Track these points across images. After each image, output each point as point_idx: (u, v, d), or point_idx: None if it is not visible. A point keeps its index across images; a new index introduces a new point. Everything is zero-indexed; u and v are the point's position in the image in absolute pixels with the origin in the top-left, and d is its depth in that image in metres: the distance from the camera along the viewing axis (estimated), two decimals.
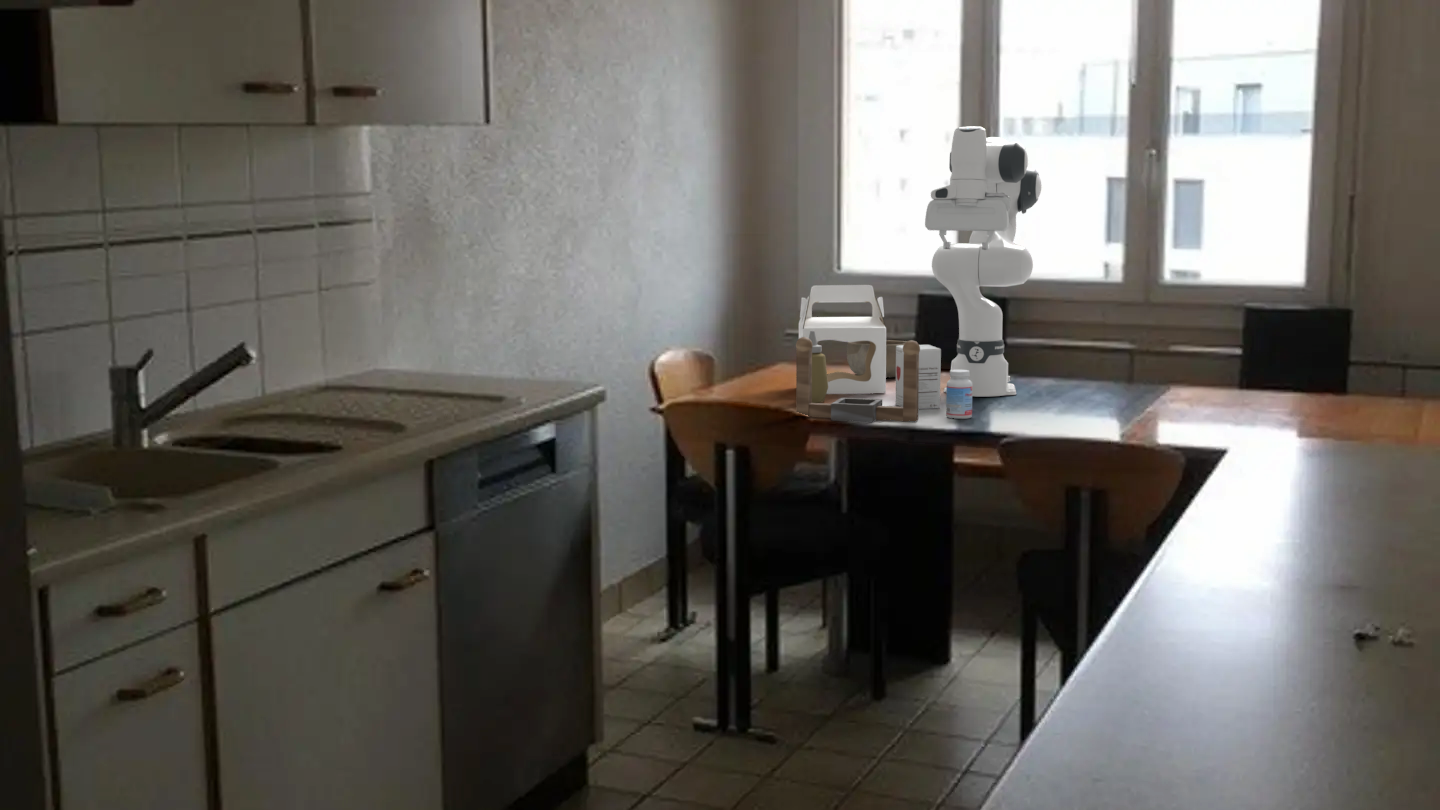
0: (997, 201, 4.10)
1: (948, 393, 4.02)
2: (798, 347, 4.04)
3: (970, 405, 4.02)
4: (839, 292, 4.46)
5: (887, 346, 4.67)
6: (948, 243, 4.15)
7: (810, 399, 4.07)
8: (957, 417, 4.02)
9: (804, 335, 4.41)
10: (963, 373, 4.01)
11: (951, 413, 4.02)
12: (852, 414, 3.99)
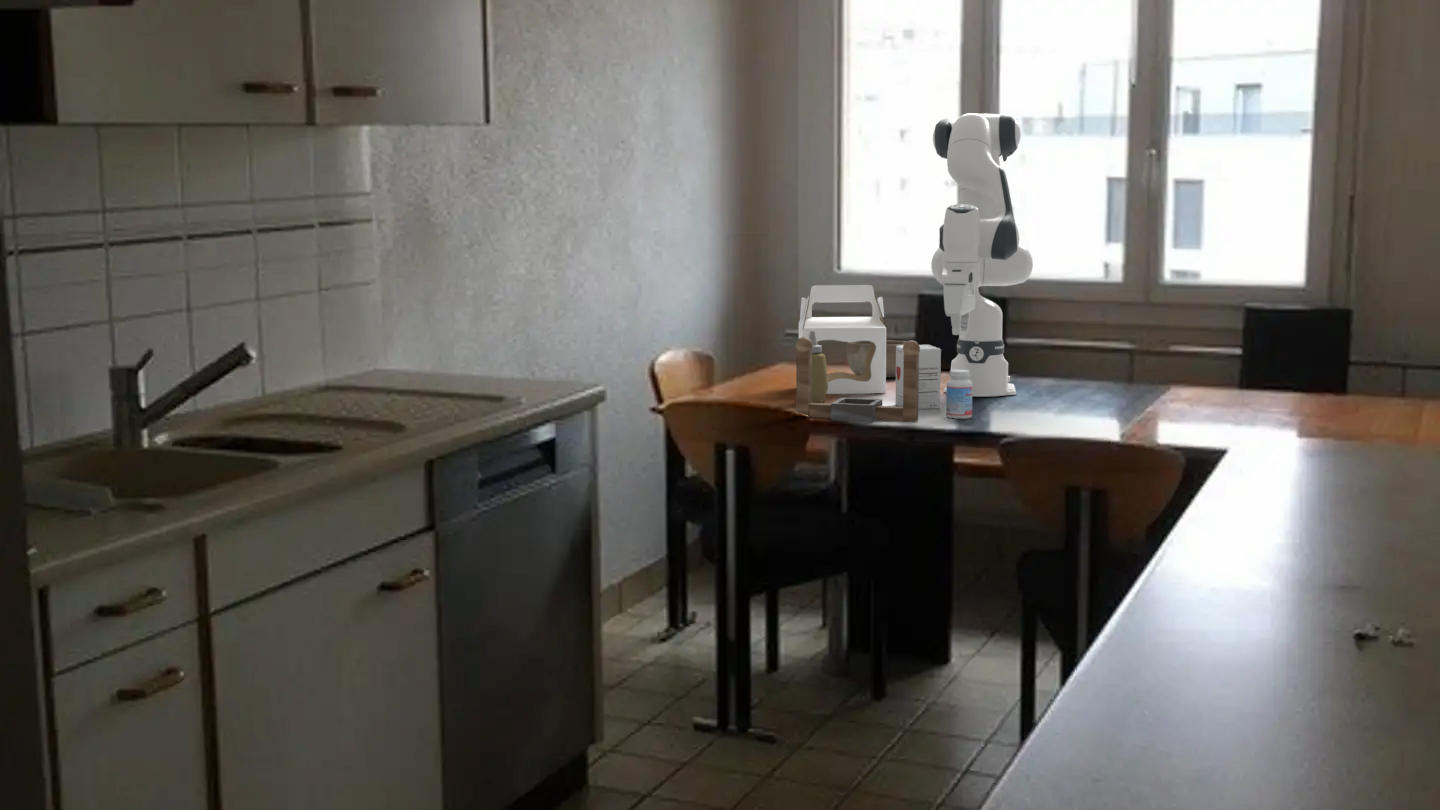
0: None
1: (948, 393, 4.02)
2: (798, 347, 4.04)
3: (970, 405, 4.02)
4: (839, 292, 4.46)
5: (887, 346, 4.67)
6: None
7: (810, 399, 4.07)
8: (957, 417, 4.02)
9: (804, 335, 4.41)
10: (963, 373, 4.01)
11: (951, 413, 4.02)
12: (852, 414, 3.99)
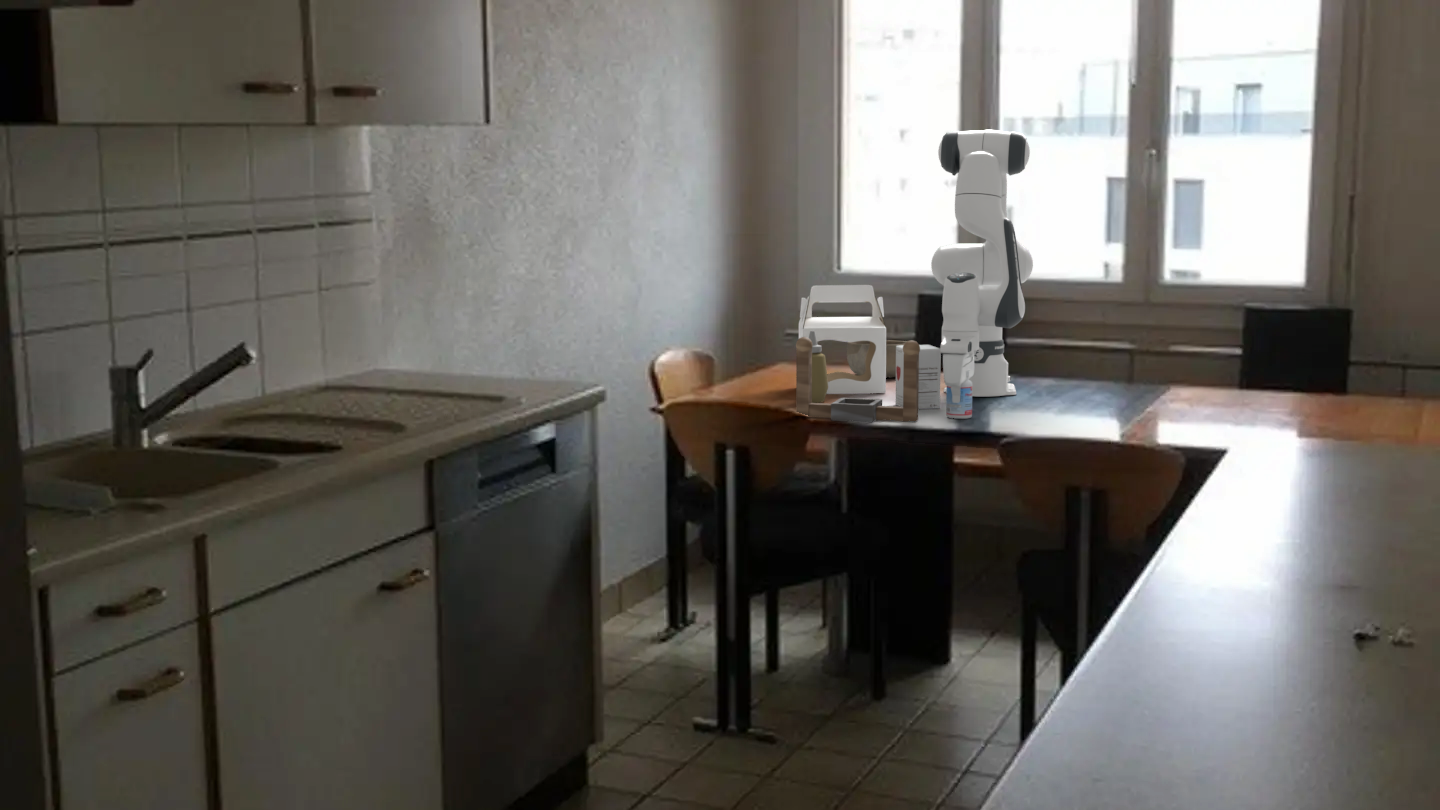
0: None
1: (948, 393, 4.02)
2: (798, 347, 4.04)
3: (970, 405, 4.02)
4: (838, 292, 4.46)
5: (887, 346, 4.67)
6: None
7: (810, 399, 4.07)
8: (957, 417, 4.02)
9: (804, 335, 4.41)
10: None
11: (951, 413, 4.02)
12: (852, 414, 3.99)
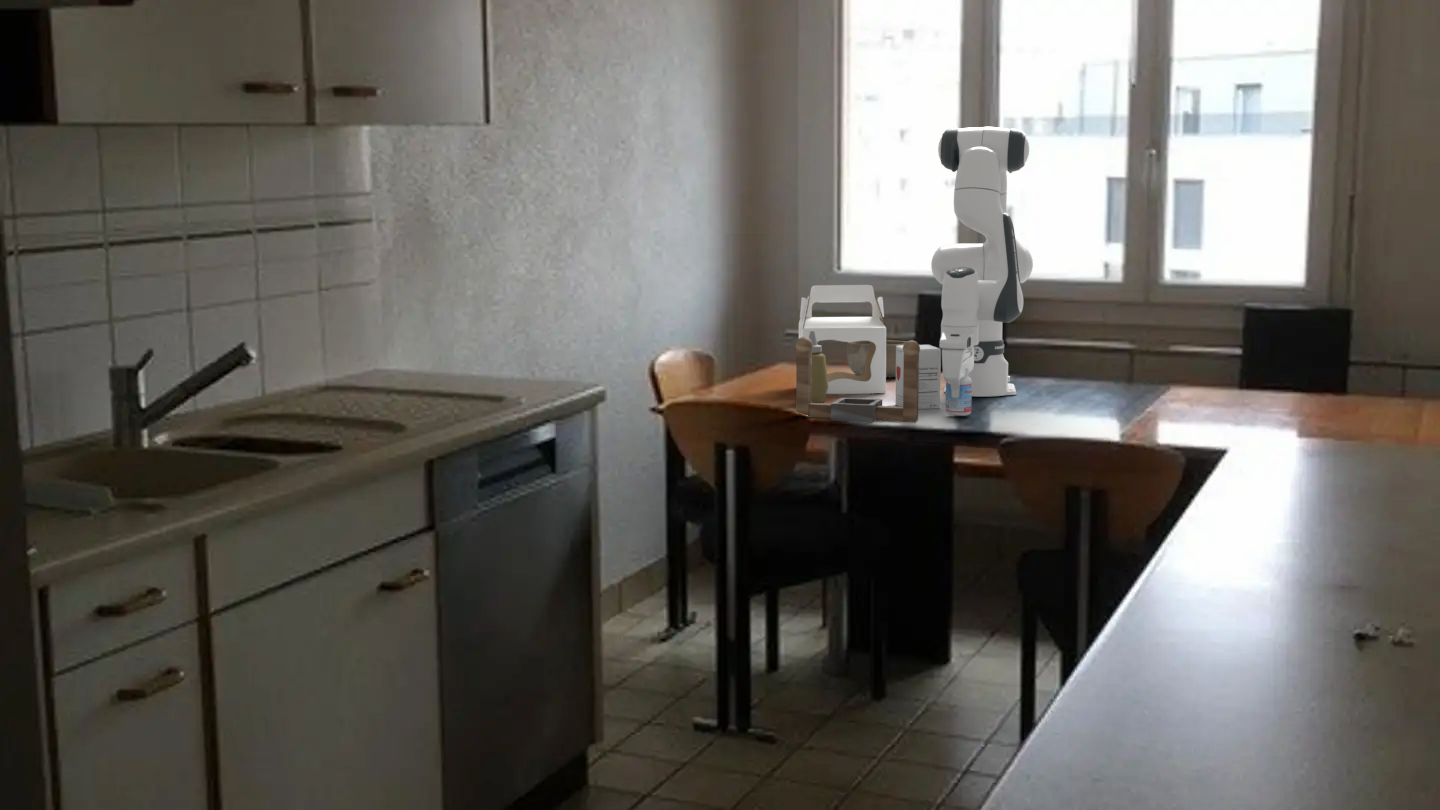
0: None
1: (947, 390, 4.03)
2: (798, 347, 4.04)
3: (969, 402, 4.03)
4: (838, 292, 4.46)
5: (887, 346, 4.67)
6: None
7: (810, 399, 4.07)
8: (956, 414, 4.02)
9: (804, 335, 4.41)
10: None
11: (950, 410, 4.03)
12: (852, 414, 3.99)
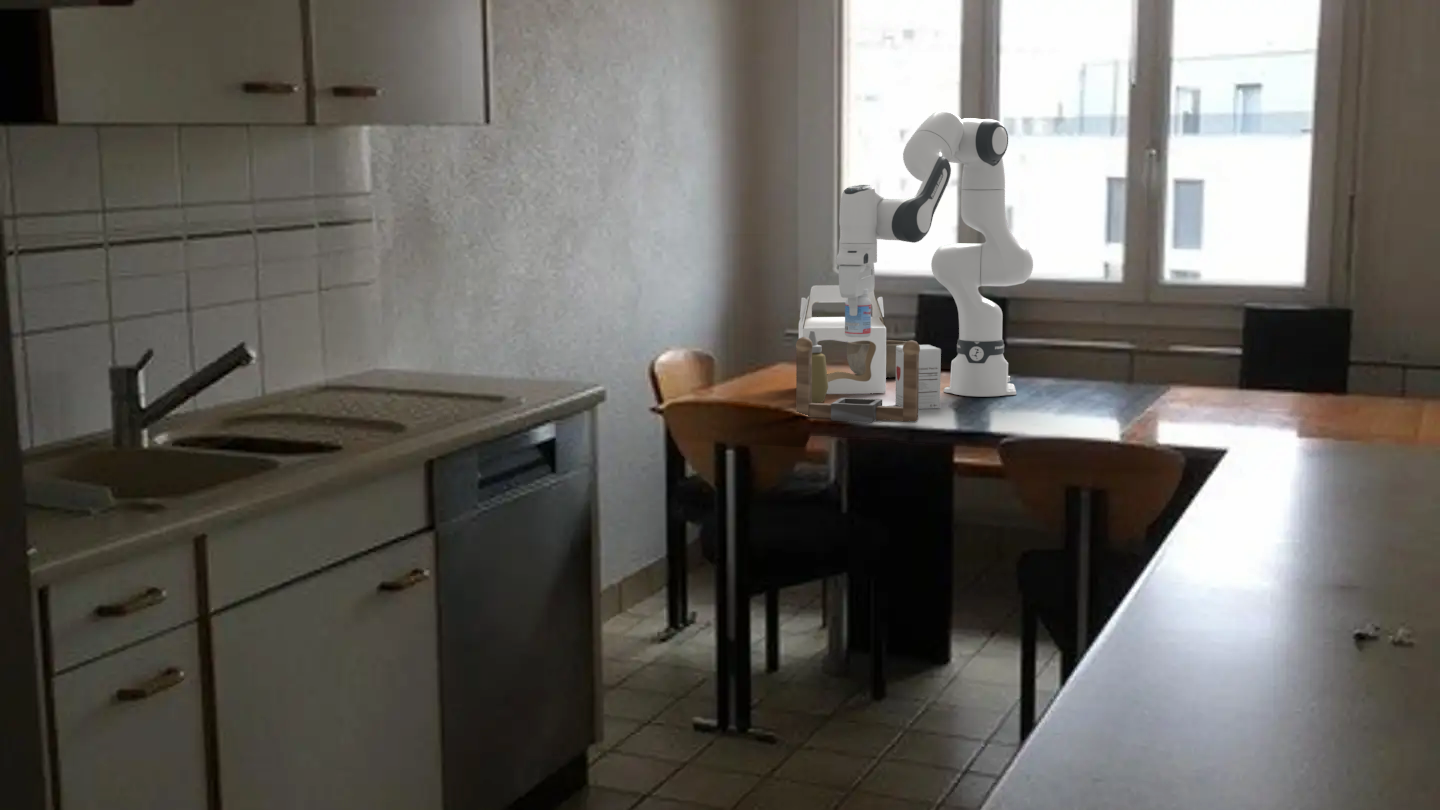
0: (872, 262, 4.05)
1: (846, 311, 3.99)
2: (798, 347, 4.04)
3: (868, 323, 3.99)
4: (838, 292, 4.46)
5: (887, 346, 4.67)
6: None
7: (810, 399, 4.07)
8: (855, 335, 3.98)
9: (804, 335, 4.41)
10: None
11: (849, 332, 3.99)
12: (852, 414, 3.99)
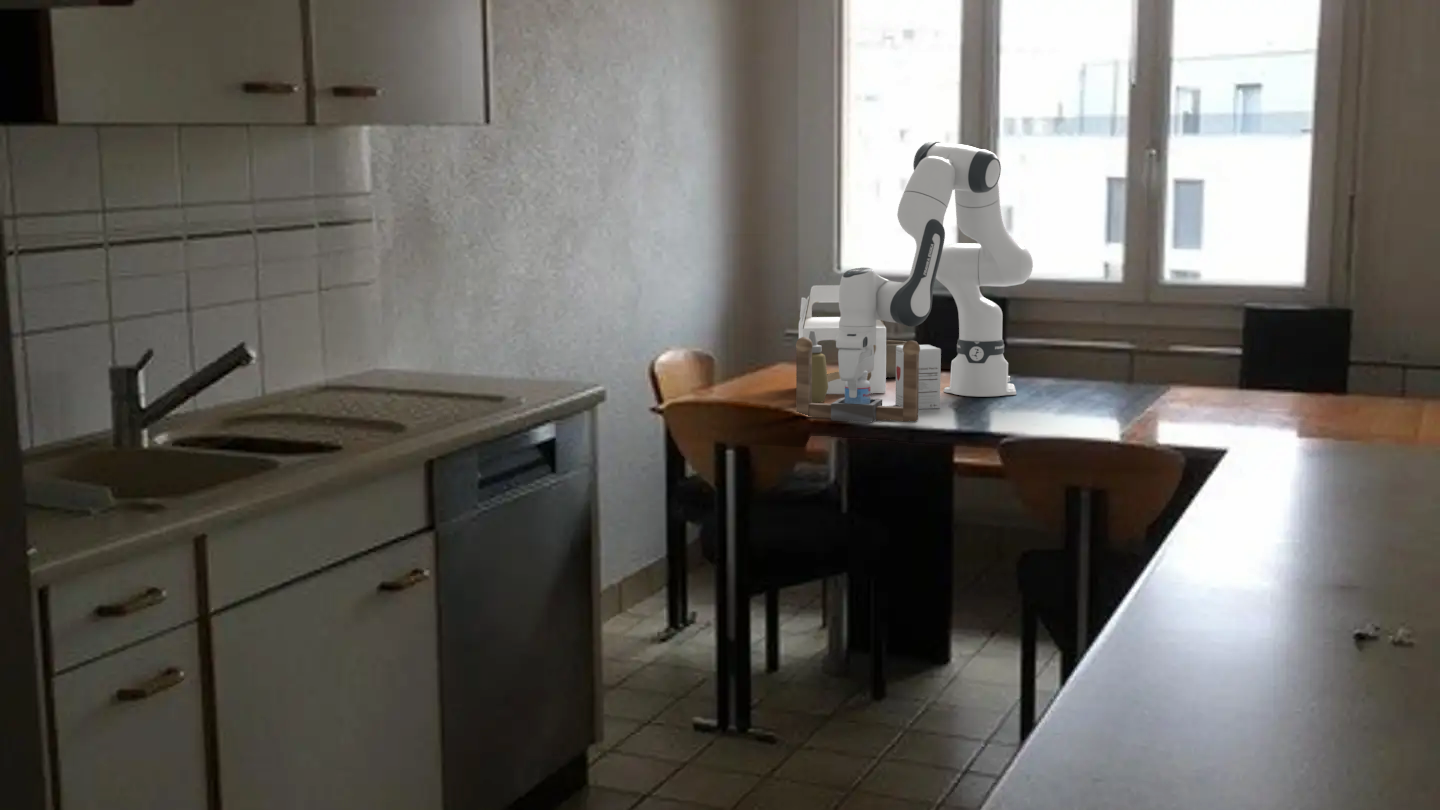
0: None
1: (846, 393, 4.02)
2: (798, 347, 4.04)
3: None
4: (838, 292, 4.46)
5: (887, 346, 4.67)
6: None
7: (810, 399, 4.07)
8: None
9: (804, 335, 4.41)
10: None
11: None
12: (852, 414, 3.99)
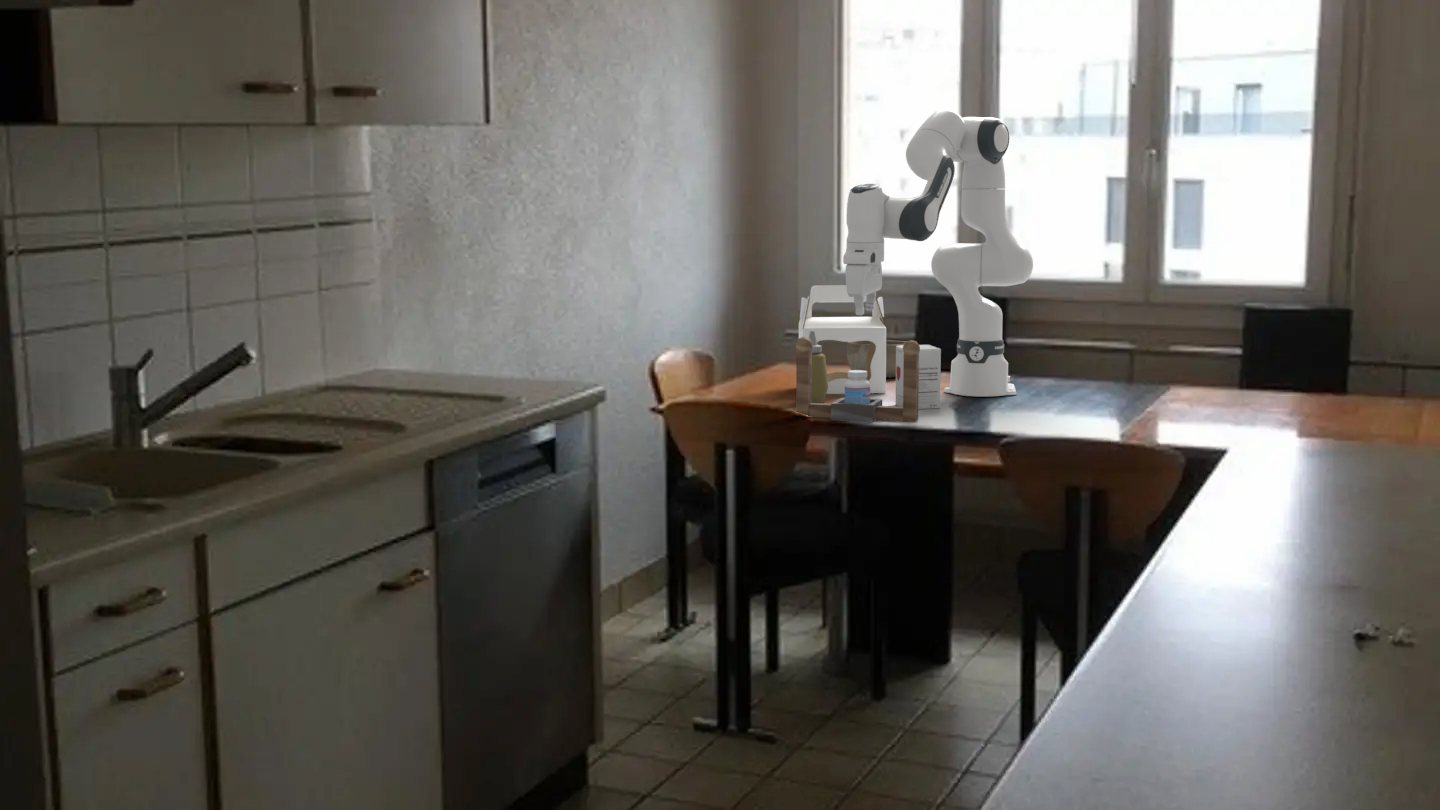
0: None
1: (846, 394, 4.02)
2: (798, 347, 4.04)
3: None
4: (838, 292, 4.46)
5: (887, 346, 4.67)
6: None
7: (810, 399, 4.07)
8: None
9: (804, 335, 4.41)
10: (860, 374, 4.01)
11: None
12: (852, 414, 3.99)
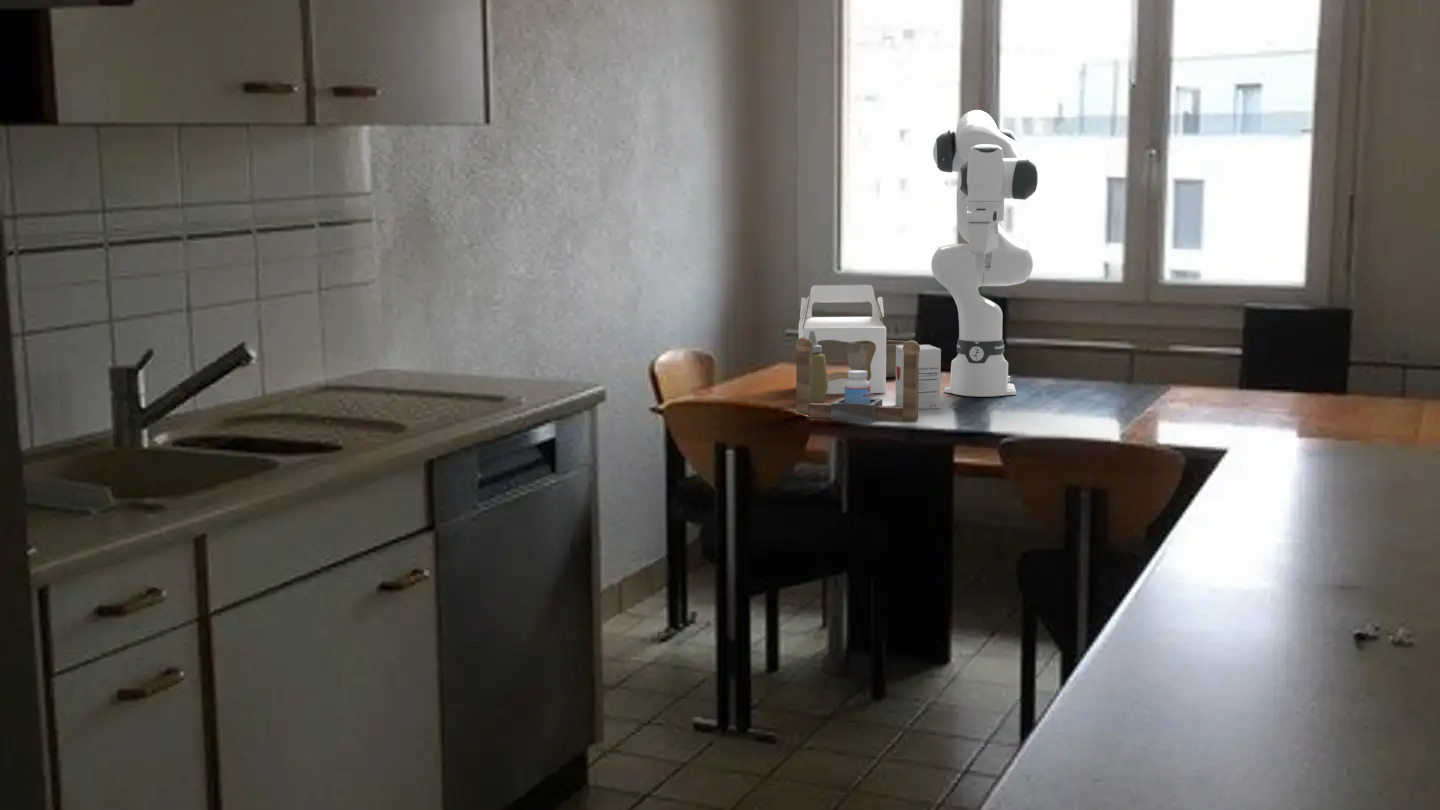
0: None
1: (846, 394, 4.02)
2: (798, 347, 4.04)
3: None
4: (838, 292, 4.46)
5: (887, 346, 4.67)
6: None
7: (810, 399, 4.07)
8: None
9: (804, 335, 4.41)
10: (860, 374, 4.01)
11: None
12: (852, 414, 3.99)
